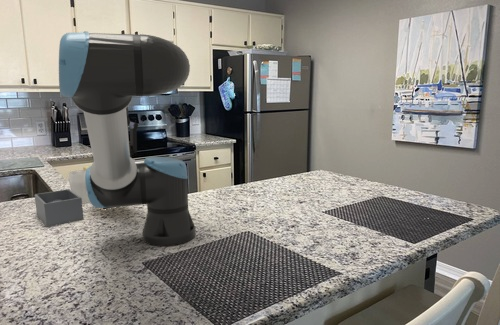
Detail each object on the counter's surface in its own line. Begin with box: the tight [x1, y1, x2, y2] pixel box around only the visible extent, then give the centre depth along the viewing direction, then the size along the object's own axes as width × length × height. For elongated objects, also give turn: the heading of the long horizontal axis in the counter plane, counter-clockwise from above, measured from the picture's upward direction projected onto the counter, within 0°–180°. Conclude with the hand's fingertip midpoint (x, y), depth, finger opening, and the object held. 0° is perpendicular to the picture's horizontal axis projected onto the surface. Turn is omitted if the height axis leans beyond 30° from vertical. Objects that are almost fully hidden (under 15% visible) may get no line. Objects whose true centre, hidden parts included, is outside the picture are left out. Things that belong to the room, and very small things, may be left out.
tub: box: [34, 188, 84, 228], centre depth 127 cm, size 15×11×8 cm
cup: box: [68, 169, 90, 205], centre depth 145 cm, size 9×9×12 cm
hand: (120, 176), depth 123 cm, fingers closed on lid, 4 cm apart
